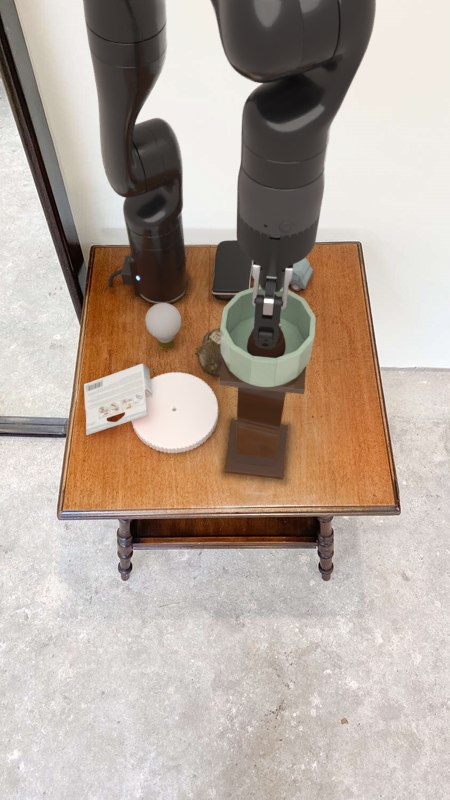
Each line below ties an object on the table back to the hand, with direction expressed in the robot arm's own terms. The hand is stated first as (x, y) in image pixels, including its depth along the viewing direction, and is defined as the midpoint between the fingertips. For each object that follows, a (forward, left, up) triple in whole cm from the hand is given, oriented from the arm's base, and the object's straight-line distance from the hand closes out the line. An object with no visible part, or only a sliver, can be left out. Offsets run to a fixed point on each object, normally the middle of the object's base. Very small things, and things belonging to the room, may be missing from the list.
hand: (269, 313), depth 72 cm
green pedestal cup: (0, 0, -35) cm, 35 cm away
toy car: (+1, +35, -36) cm, 50 cm away
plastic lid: (-14, +4, -35) cm, 38 cm away
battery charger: (-8, +28, -34) cm, 45 cm away
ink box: (-24, +9, -32) cm, 41 cm away
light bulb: (-18, +18, -36) cm, 43 cm away
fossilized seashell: (-8, +17, -36) cm, 40 cm away
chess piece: (0, 0, -7) cm, 7 cm away
